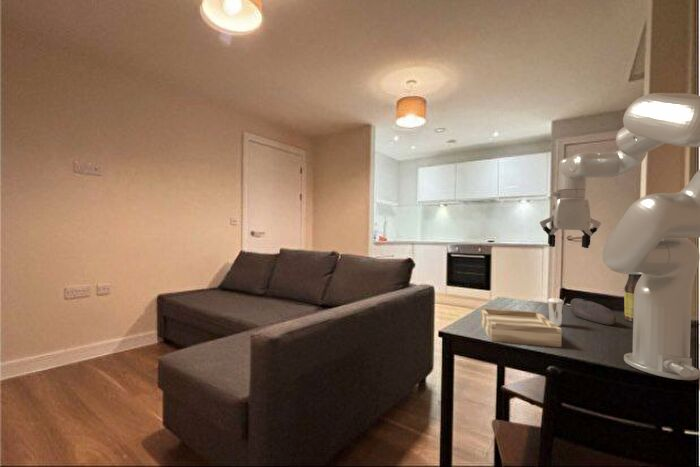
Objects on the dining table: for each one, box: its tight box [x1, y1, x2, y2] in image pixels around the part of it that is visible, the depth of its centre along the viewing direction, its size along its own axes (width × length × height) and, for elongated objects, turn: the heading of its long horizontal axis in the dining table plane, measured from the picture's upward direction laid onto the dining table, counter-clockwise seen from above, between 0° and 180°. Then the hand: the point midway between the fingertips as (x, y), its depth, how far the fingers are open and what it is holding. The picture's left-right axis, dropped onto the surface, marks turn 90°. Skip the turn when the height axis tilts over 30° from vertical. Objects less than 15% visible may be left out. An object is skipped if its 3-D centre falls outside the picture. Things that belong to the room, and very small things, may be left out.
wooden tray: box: [479, 307, 563, 348], centre depth 96 cm, size 18×18×6 cm
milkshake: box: [547, 297, 566, 327], centre depth 105 cm, size 4×5×10 cm
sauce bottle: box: [623, 274, 642, 323], centre depth 111 cm, size 7×6×20 cm
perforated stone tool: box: [569, 297, 617, 326], centre depth 111 cm, size 15×5×7 cm, turn 13°
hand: (568, 247), depth 103 cm, fingers open, 9 cm apart
